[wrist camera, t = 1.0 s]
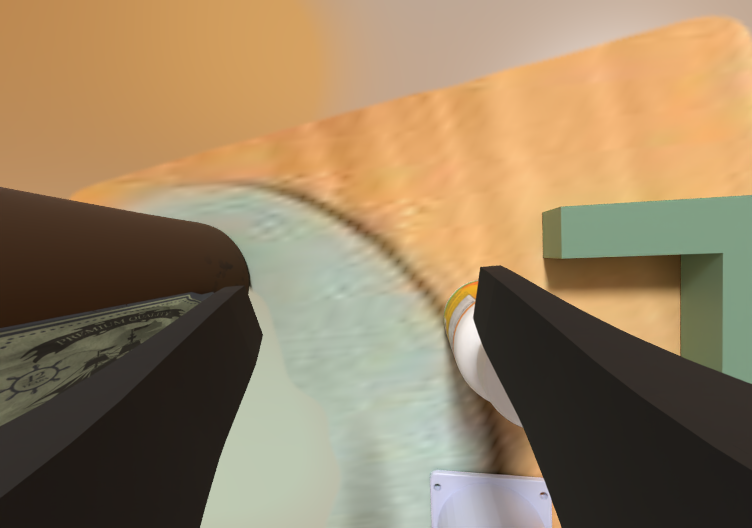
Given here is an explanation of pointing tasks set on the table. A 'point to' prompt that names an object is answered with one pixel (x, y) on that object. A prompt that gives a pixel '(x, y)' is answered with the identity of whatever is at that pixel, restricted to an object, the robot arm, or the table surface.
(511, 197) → the table surface
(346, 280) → the table surface
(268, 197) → the table surface
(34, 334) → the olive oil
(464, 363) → the supplement bottle
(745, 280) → the green u-shaped block
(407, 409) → the table surface
